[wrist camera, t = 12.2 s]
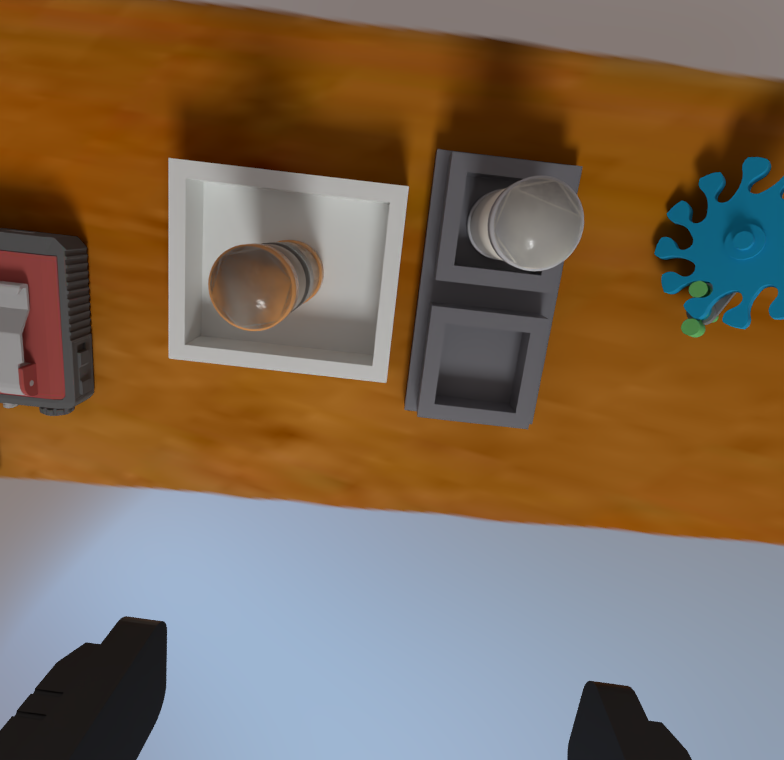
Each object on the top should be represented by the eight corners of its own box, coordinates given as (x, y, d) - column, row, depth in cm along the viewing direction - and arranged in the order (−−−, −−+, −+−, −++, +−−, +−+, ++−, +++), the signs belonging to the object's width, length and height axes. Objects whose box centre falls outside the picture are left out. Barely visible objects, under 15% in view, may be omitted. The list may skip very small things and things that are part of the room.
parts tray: (408, 190, 35) (408, 186, 32) (387, 368, 38) (386, 382, 35) (191, 164, 35) (168, 157, 31) (189, 346, 38) (168, 358, 35)
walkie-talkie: (-44, 204, 36) (-13, 478, 41) (-103, 201, 31) (-60, 508, 37) (91, 219, 36) (103, 490, 41) (49, 219, 32) (69, 521, 37)
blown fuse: (325, 243, 35) (296, 249, 26) (321, 306, 36) (292, 335, 27) (261, 236, 35) (208, 239, 26) (259, 300, 36) (207, 326, 27)
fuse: (538, 194, 34) (592, 181, 24) (526, 262, 35) (573, 276, 25) (471, 186, 34) (499, 170, 24) (461, 254, 35) (484, 265, 25)
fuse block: (436, 151, 34) (439, 144, 31) (576, 168, 34) (593, 162, 31) (404, 404, 39) (404, 419, 36) (528, 418, 39) (538, 434, 36)
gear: (722, 126, 32) (910, 192, 26) (743, 160, 36) (908, 223, 31) (609, 288, 36) (751, 375, 31) (640, 301, 41) (769, 379, 35)
